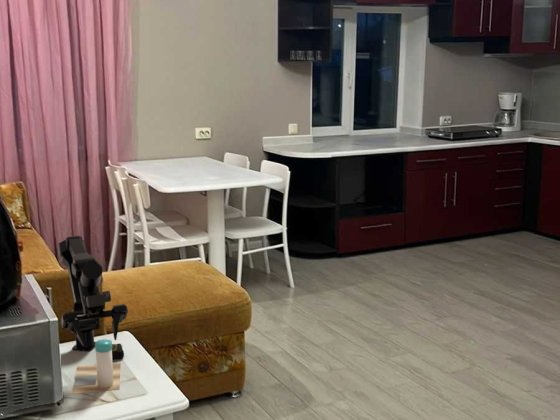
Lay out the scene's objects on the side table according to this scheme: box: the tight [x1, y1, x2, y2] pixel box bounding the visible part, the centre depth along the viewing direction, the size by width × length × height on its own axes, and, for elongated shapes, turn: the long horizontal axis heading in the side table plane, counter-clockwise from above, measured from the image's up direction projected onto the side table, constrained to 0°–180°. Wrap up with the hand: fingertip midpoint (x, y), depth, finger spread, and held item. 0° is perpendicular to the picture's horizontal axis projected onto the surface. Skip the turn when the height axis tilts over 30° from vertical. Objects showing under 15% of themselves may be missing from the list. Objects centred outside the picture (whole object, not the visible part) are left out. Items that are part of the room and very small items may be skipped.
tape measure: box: [112, 343, 125, 361], centre depth 215 cm, size 7×7×4 cm
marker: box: [94, 338, 113, 388], centre depth 195 cm, size 5×5×13 cm
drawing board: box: [71, 362, 122, 395], centre depth 200 cm, size 18×13×1 cm
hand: (99, 342), depth 198 cm, fingers open, 9 cm apart
